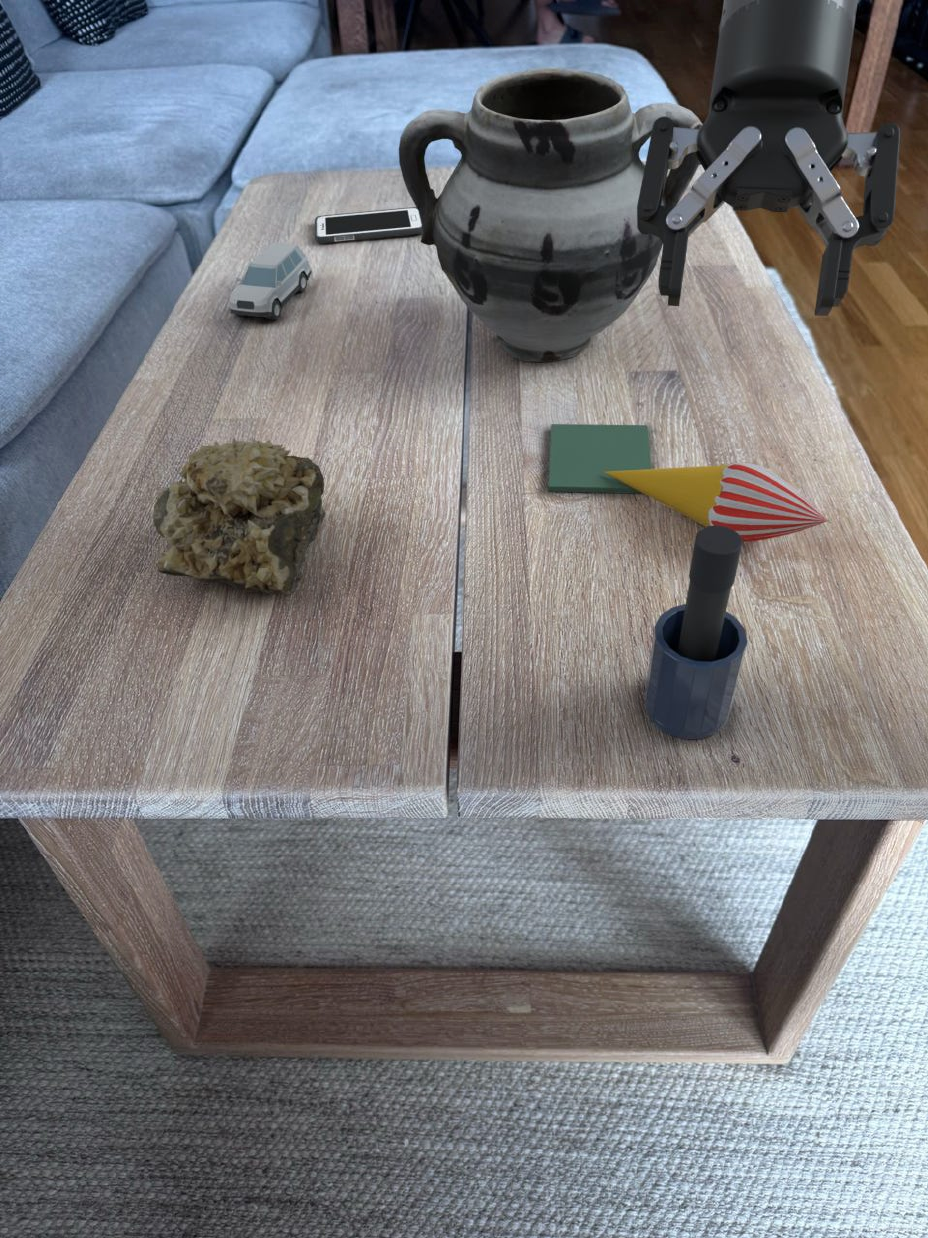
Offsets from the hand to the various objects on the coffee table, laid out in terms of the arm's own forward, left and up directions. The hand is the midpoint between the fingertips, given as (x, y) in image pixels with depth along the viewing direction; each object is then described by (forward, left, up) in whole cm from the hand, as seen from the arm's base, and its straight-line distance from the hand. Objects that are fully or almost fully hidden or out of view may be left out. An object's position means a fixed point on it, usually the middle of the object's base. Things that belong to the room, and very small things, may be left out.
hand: (747, 306), depth 53 cm
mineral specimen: (+37, -3, -23) cm, 43 cm away
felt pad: (+7, -18, -23) cm, 30 cm away
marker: (+2, +11, -22) cm, 25 cm away
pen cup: (+2, +11, -23) cm, 26 cm away
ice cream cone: (-1, -9, -23) cm, 25 cm away
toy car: (+46, -50, -23) cm, 71 cm away
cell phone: (+38, -72, -23) cm, 84 cm away
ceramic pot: (+13, -40, -23) cm, 48 cm away
